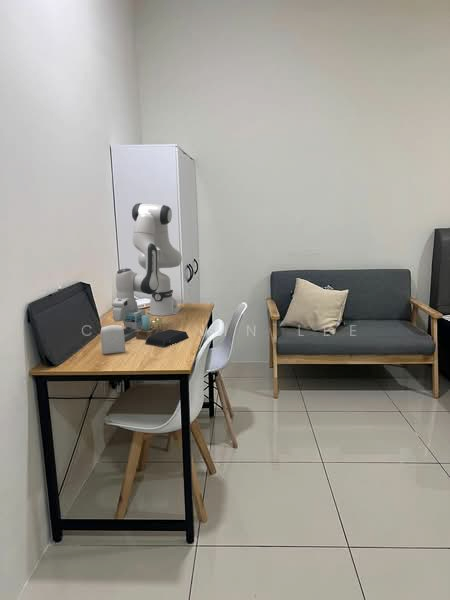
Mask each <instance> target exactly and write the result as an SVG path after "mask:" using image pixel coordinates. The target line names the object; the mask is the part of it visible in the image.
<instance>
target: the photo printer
mask: <svg viewBox="0 0 450 600" xmlns="http://www.w3.org/2000/svg"><path fill="white" fill-rule="evenodd" d="M123 327H124V326H122V325H117V324H112V325H105V326H103V327H101V329H100V343H101V345H100V346H101V354H102V355H105V354H116V353H125V352H126V342H125V338H124V329H125V328H123Z"/></svg>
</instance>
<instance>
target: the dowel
mask: <svg viewBox="0 0 450 600" xmlns="http://www.w3.org/2000/svg"><path fill="white" fill-rule="evenodd" d="M150 318H151V316H150V315H149V314H145V315H143V316H142V323H143V331H149V330H150V328H151V319H150Z"/></svg>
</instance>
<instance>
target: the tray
mask: <svg viewBox="0 0 450 600" xmlns="http://www.w3.org/2000/svg"><path fill="white" fill-rule="evenodd" d="M123 329H124V338H125V343H126V342H128V341H130V340H132V339H133V338H136V331H137V330H135V329H126V328H123Z"/></svg>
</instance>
